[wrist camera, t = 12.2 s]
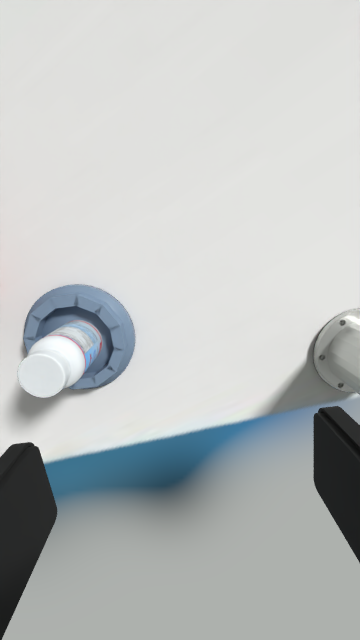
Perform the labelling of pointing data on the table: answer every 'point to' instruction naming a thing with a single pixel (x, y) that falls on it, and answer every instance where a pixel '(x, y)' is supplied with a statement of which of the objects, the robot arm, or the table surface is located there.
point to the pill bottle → (59, 359)
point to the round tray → (94, 310)
